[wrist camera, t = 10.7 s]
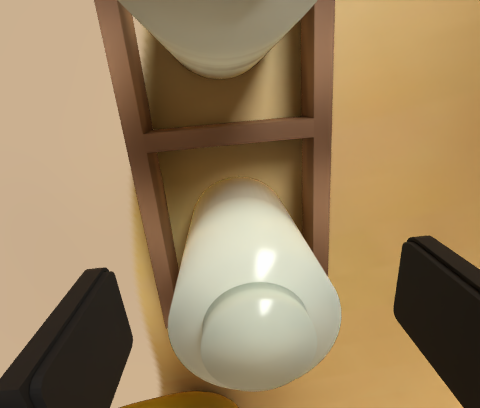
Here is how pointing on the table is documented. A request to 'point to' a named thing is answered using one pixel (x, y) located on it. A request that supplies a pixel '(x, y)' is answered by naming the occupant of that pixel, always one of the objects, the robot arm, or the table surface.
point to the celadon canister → (250, 292)
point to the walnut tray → (221, 67)
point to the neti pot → (186, 401)
